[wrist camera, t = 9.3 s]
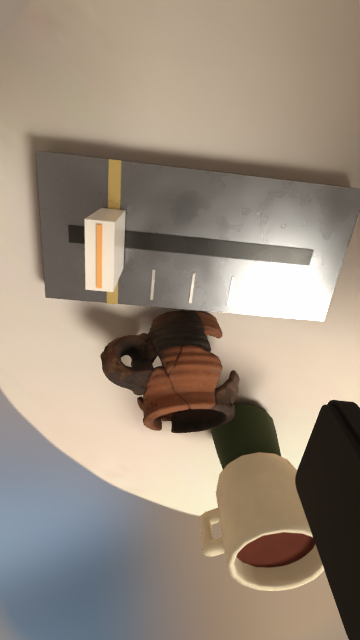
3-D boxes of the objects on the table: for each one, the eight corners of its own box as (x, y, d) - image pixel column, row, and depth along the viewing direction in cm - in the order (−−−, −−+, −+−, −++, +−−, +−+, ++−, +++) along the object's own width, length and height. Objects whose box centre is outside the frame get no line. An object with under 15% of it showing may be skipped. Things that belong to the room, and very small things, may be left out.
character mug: (206, 464, 36) (225, 609, 24) (177, 419, 33) (182, 559, 21) (302, 428, 34) (372, 566, 22) (279, 377, 31) (346, 504, 20)
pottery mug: (249, 316, 29) (271, 407, 25) (197, 362, 36) (206, 440, 31) (118, 283, 24) (114, 389, 20) (86, 344, 31) (78, 433, 26)
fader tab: (125, 210, 22) (114, 222, 18) (123, 268, 24) (113, 292, 19) (101, 207, 22) (84, 219, 17) (101, 265, 24) (85, 290, 19)
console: (351, 187, 24) (367, 189, 22) (313, 311, 29) (324, 321, 27) (46, 151, 23) (34, 150, 21) (53, 288, 27) (45, 298, 25)
